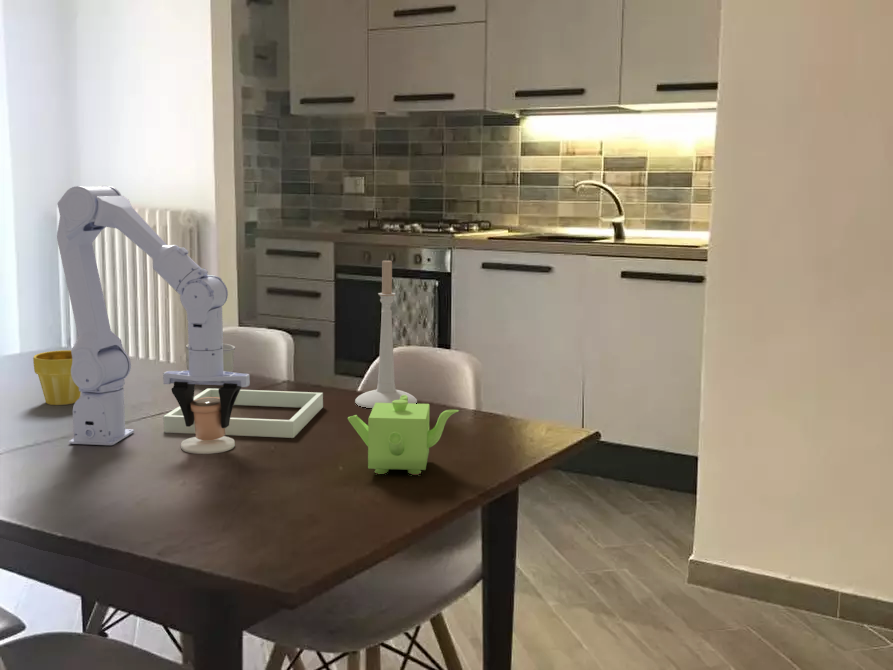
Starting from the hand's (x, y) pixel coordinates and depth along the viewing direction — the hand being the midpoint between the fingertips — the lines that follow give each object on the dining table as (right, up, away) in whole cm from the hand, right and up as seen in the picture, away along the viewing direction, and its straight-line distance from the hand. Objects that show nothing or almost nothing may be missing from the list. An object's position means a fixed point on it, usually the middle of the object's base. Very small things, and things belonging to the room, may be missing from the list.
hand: (207, 425), depth 172 cm
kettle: (+34, -6, -10) cm, 36 cm away
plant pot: (-37, +2, +32) cm, 49 cm away
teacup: (-13, +5, +54) cm, 56 cm away
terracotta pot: (0, -2, +1) cm, 2 cm away
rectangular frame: (+3, -1, +20) cm, 20 cm away
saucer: (0, -4, +1) cm, 4 cm away
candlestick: (+29, +1, +36) cm, 46 cm away
